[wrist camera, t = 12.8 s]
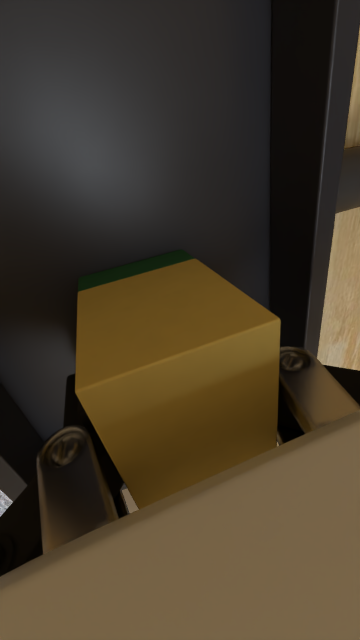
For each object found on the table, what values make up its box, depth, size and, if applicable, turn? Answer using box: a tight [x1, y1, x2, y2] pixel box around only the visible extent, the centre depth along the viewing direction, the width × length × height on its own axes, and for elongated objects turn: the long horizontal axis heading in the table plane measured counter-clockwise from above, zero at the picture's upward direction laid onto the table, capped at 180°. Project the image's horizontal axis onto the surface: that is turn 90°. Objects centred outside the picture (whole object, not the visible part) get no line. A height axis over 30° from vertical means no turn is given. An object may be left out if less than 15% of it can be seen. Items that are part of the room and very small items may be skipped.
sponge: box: [75, 249, 281, 509], centre depth 9 cm, size 4×7×6 cm, turn 10°
